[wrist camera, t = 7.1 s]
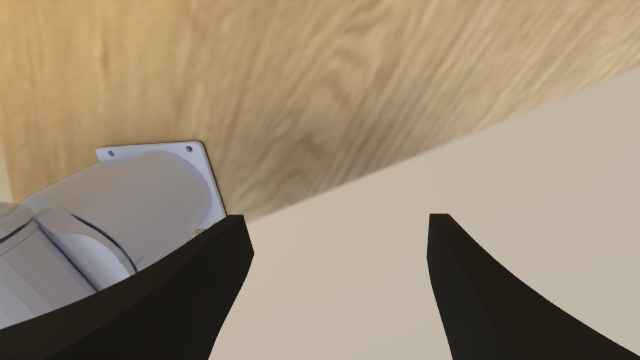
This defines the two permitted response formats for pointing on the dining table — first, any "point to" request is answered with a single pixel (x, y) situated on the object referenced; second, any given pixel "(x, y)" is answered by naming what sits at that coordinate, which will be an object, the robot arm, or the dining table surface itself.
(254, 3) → the dining table surface
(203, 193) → the robot arm
